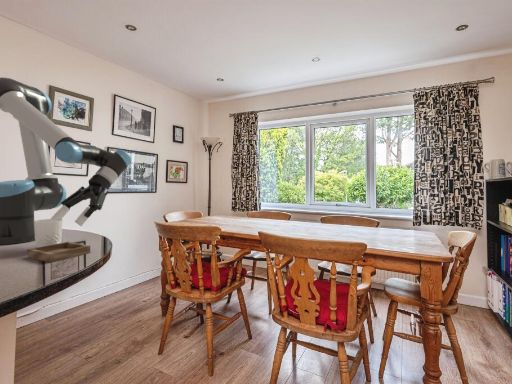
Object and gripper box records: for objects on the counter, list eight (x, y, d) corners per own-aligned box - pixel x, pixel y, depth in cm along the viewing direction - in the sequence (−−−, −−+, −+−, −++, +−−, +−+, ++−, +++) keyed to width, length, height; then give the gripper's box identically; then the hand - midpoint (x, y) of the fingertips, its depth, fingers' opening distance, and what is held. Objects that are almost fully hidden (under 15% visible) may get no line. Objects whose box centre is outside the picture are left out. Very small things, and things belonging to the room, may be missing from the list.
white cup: (47, 252, 90) (46, 222, 89) (28, 251, 91) (27, 221, 91) (68, 247, 97) (67, 219, 97) (50, 245, 99) (49, 218, 99)
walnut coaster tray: (27, 257, 85) (27, 249, 84) (68, 248, 95) (68, 241, 95) (50, 262, 80) (50, 254, 79) (90, 252, 90) (90, 245, 90)
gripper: (130, 187, 108) (96, 231, 95) (89, 185, 118) (52, 225, 105) (119, 173, 103) (80, 218, 90) (76, 173, 113) (36, 213, 100)
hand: (65, 222), depth 97 cm, fingers open, 13 cm apart
